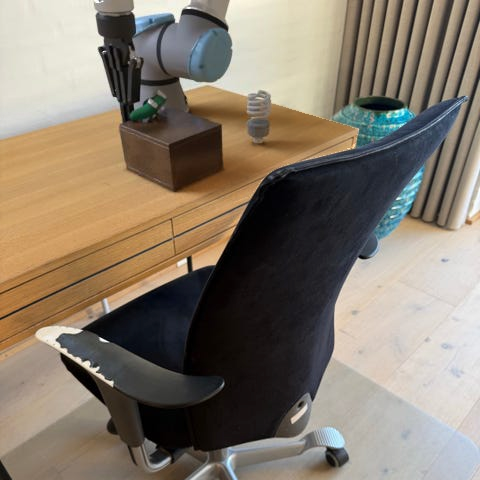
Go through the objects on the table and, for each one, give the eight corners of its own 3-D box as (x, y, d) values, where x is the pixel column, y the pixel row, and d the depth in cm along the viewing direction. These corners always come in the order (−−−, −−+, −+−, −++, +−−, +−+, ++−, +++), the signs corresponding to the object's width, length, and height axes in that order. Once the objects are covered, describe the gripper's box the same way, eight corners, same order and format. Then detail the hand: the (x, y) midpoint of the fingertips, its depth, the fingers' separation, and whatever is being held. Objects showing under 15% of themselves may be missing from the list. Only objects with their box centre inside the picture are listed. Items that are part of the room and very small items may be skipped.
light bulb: (259, 137, 117) (260, 85, 109) (274, 144, 114) (276, 91, 106) (241, 143, 115) (241, 90, 107) (256, 150, 111) (257, 96, 103)
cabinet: (126, 169, 104) (118, 124, 98) (176, 150, 112) (171, 106, 105) (173, 192, 96) (168, 144, 90) (223, 169, 104) (221, 124, 97)
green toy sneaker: (140, 131, 99) (157, 112, 96) (126, 117, 98) (143, 97, 94) (155, 116, 106) (172, 98, 102) (142, 103, 104) (159, 83, 101)
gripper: (79, 8, 93) (100, 128, 109) (117, 20, 87) (133, 145, 103) (111, 3, 97) (127, 120, 114) (150, 15, 91) (160, 136, 107)
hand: (130, 132), depth 108 cm, fingers closed
